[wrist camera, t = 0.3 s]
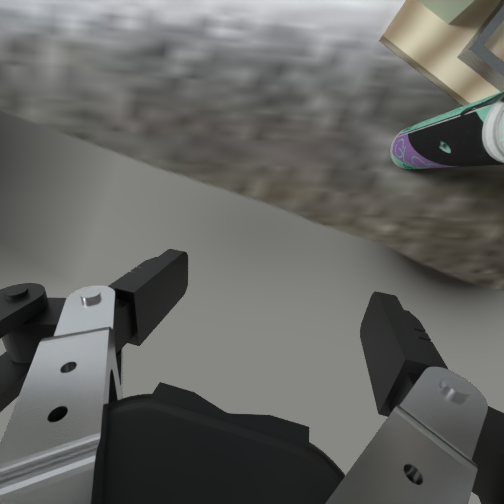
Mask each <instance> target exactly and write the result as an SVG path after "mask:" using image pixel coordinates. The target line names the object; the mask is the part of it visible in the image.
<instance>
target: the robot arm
mask: <svg viewBox="0 0 504 504" xmlns="http://www.w3.org/2000/svg"><path fill="white" fill-rule="evenodd" d="M187 286H188V255H187V253H186V252H183V251H178V250H173V249H169V250H167V251H166V252H164V253H163V254H162V255H160V256H159V257H155V258H152V259H149V260H146V261H144V262H143V263H141V264H140V265H138V266H137V267H135V268H134V269H133V270H131V272H128V273H127V274H125V275H124V276H123V277H121V278H119V279H118V280H116V281H115V282H114V283H112V284H111V285H109V286H108V287H107V286H89V287H85V288H82V289H79V290H77V291H75V292H73V293H72V294H70V295H69V296H68V298H47V295H46V291H45V288H44V287H43V286H42V285H40V284H35V283H25V284H18V285H13V286H10V287H6V288H4V289H1V290H0V338H2V340H3V343H4V346H5V348H6V351H7V352H5V353H4V354H3V355H1V356H0V412H1V411H2V410H3V409H4V408H5V407H6V406H7V405H9V404H10V403H11V402H12V401H13V400H14V399H15V398H17V397H18V396H19V397H18V400H17V402H16V405H15V407H14V410H13V412H12V415H11V417H10V420H9V423H8V425H7V428H6V431H5V433H4V435H3V438H2V441H1V443H0V504H468V501H469V498H470V495H471V492H473V493H475V494H476V495H478V496H479V499H480V501H481V504H504V413H502V412H500V411H497V410H495V409H493V408H491V407H489V406H488V404H487V401H486V399H485V398H484V396H483V395H482V393H481V392H480V391H479V390H478V389H477V388H476V387H475V386H474V385H473V384H472V383H471V382H469V381H468V380H467V379H465V378H464V377H462V376H460V375H459V374H457V373H455V372H453V371H451V370H449V369H448V368H447V366H446V365H445V363H444V361H443V360H442V358H441V356H440V354H439V353H438V351H437V349H436V348H435V346H434V344H433V343H432V342H431V341H430V340H431V339H430V338H429V336H428V334H427V333H425V329H424V328H423V326H422V324H421V323H420V321H419V320H418V319H417V318H416V317H414V316H413V315H412V314H411V313H410V312H409V311H406V310H404V309H403V308H402V306H401V304H400V302H399V300H398V298H397V297H396V296H395V295H390V294H385V293H380V292H374V293H373V294H372V296H371V298H370V301H369V304H368V307H367V309H366V312H365V315H364V318H363V320H362V323H361V329H360V338H361V342H362V346H363V350H364V355H365V359H366V363H367V368H368V372H369V376H370V380H371V384H372V388H373V393H374V397H375V401H376V405H377V410H378V413H379V414H380V415H384V416H387V417H388V418H387V419H386V421H385V422H384V423H383V425H382V426H381V428H380V429H379V430H378V432H377V433H376V435H375V436H374V437H373V439H372V440H371V441H370V443H369V444H368V446H367V447H366V448H365V450H364V451H363V453H362V454H361V455H360V457H359V458H358V459H357V461H356V462H355V463H354V465H353V466H352V468H351V469H350V471H349V472H348V473H347V474H346V476H345V474H344V473H343V472H342V470H341V469H340V468H339V467H338V466H337V465H336V464H335V463H334V461H332V460H331V459H330V458H329V457H328V456H327V455H326V454H325V453H324V452H323V451H321V450H320V449H318V448H317V447H316V446H315V445H313V444H311V443H310V442H309V427H307V426H304V425H301V424H298V423H294V422H291V421H288V420H284V419H281V418H278V417H274V416H271V415H253V414H230V413H226V412H224V411H223V410H221V409H219V408H218V407H216V406H215V405H213V404H212V403H210V402H208V401H207V400H205V399H204V398H202V397H201V396H199V395H197V394H196V393H194V392H191V391H188V390H184V389H181V388H178V387H174V386H171V385H168V384H164V383H161V382H160V383H159V384H158V386H157V387H156V389H155V390H154V392H153V394H142V395H135V396H130V397H127V398H123V347H124V345H125V344H127V343H130V344H133V345H137V346H140V345H141V344H142V342H143V341H144V340H145V339H146V338H147V337H148V336H149V334H150V333H151V332H152V331H153V329H155V328H156V326H157V325H158V324H159V323H160V322H161V321H162V320H163V318H164V317H165V316H166V315H167V314H168V313H169V311H170V310H171V309H172V308H173V307H174V306H175V305H176V304H177V302H178V301H179V300H180V299H181V298H182V297H183V295H184V294H185V292H186V289H187Z"/></svg>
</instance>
